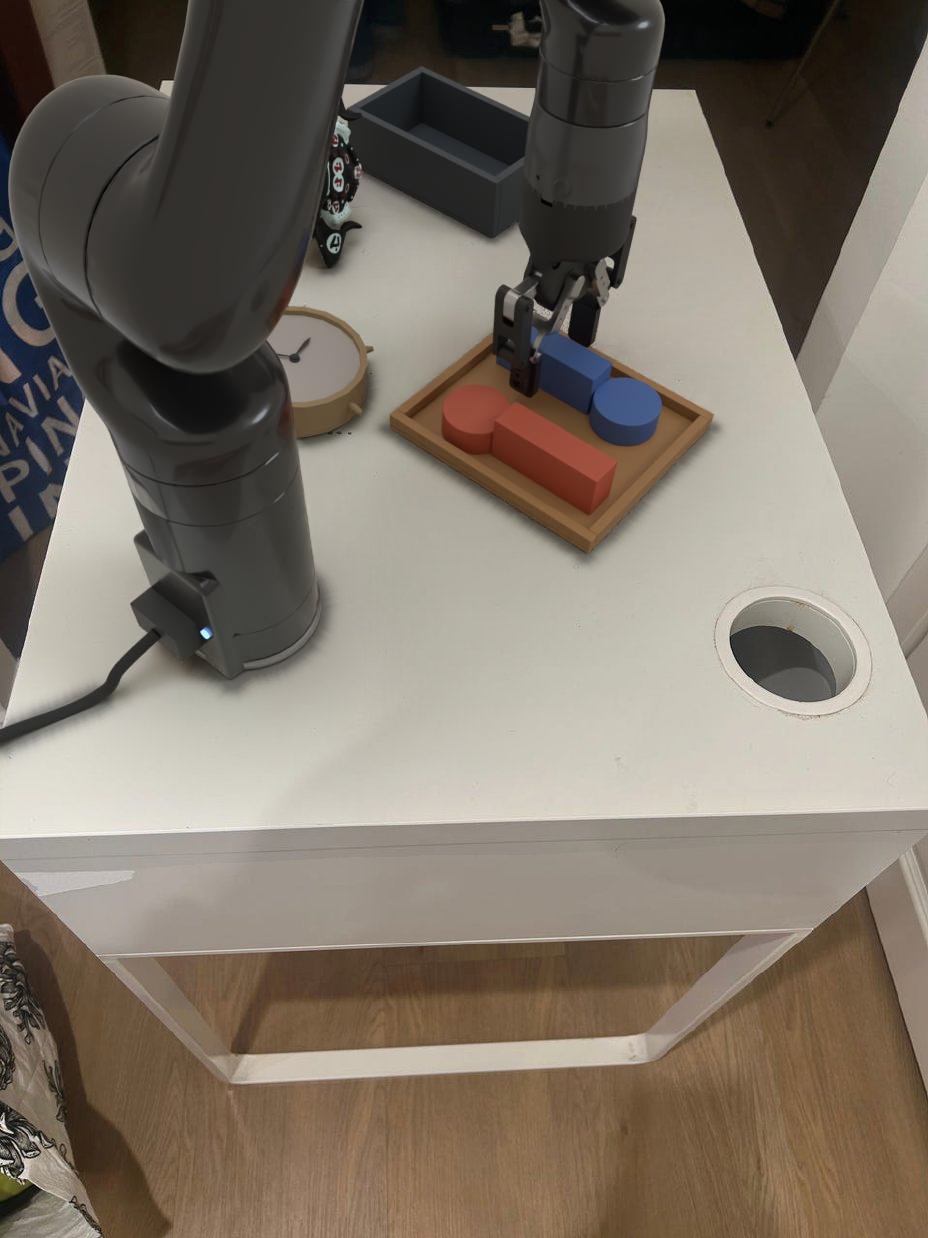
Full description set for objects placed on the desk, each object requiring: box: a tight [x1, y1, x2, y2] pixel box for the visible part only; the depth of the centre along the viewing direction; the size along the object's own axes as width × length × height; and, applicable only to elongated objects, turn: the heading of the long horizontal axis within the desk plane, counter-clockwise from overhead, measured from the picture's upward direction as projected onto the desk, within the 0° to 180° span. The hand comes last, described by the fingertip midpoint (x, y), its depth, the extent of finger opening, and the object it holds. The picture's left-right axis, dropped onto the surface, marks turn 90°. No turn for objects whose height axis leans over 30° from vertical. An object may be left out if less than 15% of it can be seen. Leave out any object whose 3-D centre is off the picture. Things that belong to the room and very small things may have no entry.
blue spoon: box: [496, 326, 662, 446], centre depth 75 cm, size 5×14×4 cm, turn 51°
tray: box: [389, 329, 715, 554], centre depth 75 cm, size 17×19×1 cm
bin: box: [346, 65, 530, 239], centre depth 91 cm, size 11×18×5 cm, turn 51°
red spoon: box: [442, 385, 617, 515], centre depth 71 cm, size 5×14×4 cm, turn 51°
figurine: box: [311, 98, 363, 269], centre depth 83 cm, size 10×15×14 cm
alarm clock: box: [266, 305, 375, 438], centre depth 75 cm, size 11×5×15 cm
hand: (552, 365), depth 76 cm, fingers open, 7 cm apart
